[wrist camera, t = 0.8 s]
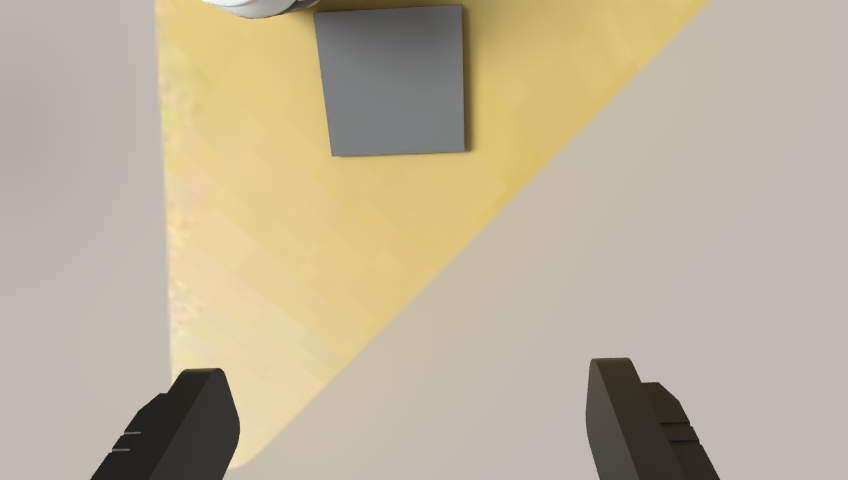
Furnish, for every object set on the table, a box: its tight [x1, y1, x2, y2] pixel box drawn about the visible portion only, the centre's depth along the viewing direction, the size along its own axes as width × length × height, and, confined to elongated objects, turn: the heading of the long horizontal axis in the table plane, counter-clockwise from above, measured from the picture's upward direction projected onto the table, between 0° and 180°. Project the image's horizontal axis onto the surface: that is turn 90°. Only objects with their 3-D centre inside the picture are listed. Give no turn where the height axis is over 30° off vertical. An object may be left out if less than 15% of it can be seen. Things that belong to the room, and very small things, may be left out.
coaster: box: [313, 5, 465, 156], centre depth 31 cm, size 8×8×1 cm
